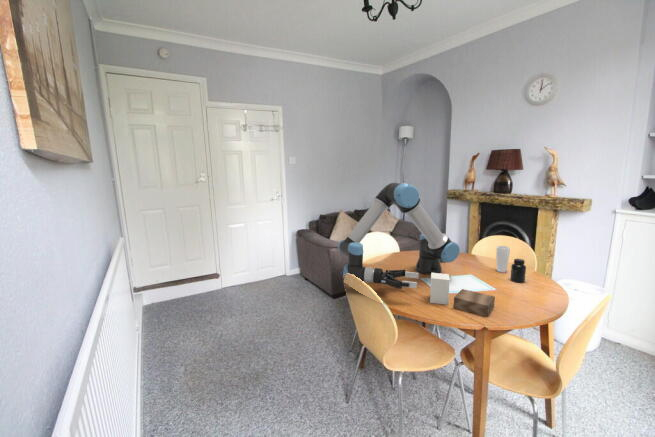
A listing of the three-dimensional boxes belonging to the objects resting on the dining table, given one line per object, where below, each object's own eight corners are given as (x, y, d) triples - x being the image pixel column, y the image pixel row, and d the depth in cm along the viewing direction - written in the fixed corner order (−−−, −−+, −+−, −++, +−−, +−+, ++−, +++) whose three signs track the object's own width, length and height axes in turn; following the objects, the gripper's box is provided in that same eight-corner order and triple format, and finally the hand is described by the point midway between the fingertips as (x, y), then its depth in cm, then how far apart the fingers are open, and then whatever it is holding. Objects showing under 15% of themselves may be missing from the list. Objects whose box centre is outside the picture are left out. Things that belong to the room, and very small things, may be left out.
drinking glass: (492, 269, 188) (494, 245, 185) (503, 269, 188) (505, 245, 186) (499, 273, 181) (501, 248, 178) (510, 272, 182) (512, 248, 179)
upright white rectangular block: (429, 302, 144) (431, 278, 142) (430, 295, 151) (431, 272, 149) (448, 304, 141) (449, 280, 139) (447, 297, 148) (448, 274, 146)
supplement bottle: (526, 283, 165) (529, 262, 163) (512, 282, 167) (514, 261, 165) (521, 278, 172) (523, 258, 170) (508, 278, 173) (510, 257, 171)
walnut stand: (453, 307, 138) (454, 297, 137) (461, 298, 147) (462, 289, 146) (487, 317, 129) (488, 305, 128) (494, 306, 138) (494, 296, 138)
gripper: (378, 274, 167) (418, 279, 160) (368, 291, 144) (415, 298, 137) (378, 261, 166) (419, 265, 159) (369, 276, 143) (416, 281, 136)
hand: (417, 280), depth 148 cm, fingers open, 13 cm apart
